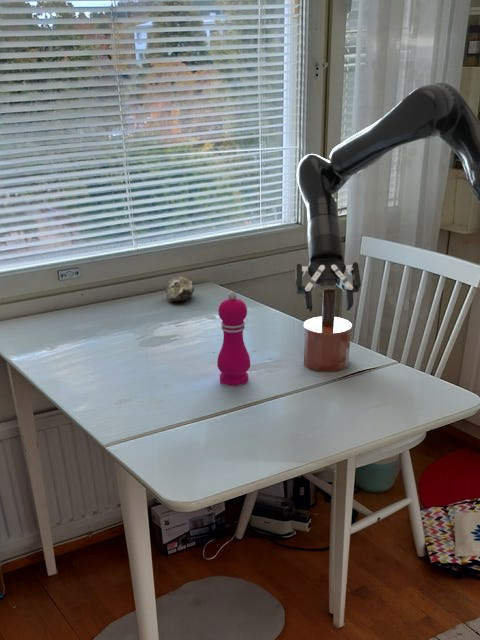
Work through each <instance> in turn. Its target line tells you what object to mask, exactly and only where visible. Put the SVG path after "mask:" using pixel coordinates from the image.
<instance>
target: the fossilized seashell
mask: <svg viewBox="0 0 480 640" xmlns="http://www.w3.org/2000/svg"><path fill="white" fill-rule="evenodd" d="M164 289H165V290H164V291H165V293H166V298H167V299H168V300H169V301H171V302H182V301H185V300H187V299H189V298H190V297H192V295H193V294H194V290H195V287H194V285H193V282H192V280H191V279H190V280H189V278H187V277H184V276H176V277H174V278H171V279H170V280H169V281H167V283H166V285H165V288H164Z"/></svg>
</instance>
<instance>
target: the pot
mask: <svg viewBox="0 0 480 640" xmlns="http://www.w3.org/2000/svg"><path fill="white" fill-rule="evenodd" d="M351 331H352V329H351V330H350V331H349V332H347V333H345V334H342V335H335V336H322V335H316V334H312V333H309V332H307V331H306V330H305V329H304V342H303V365H304V367H306V368H307V369H309V370H312V371H315V372H321V373H333V372H339V371H342V370H345V369H346V368H347V367H348V365H349V360H350V348H351V347H350V346H351V333H352V332H351Z"/></svg>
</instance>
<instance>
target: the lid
mask: <svg viewBox="0 0 480 640" xmlns="http://www.w3.org/2000/svg"><path fill="white" fill-rule="evenodd" d="M336 296H337V291H336V289H329V288H328V289H323V290H322V303H321V316H316V317H312V318H309V319H307V320H305V321H304V323H303V330H304V331H305V330H306V331H307V332H309V333H312V334H316V335H322V336H335V335H342V334H345V333H347V332H349V331H350V330H351V331H352V329H353V324H352V322H351V321H349V320H348V319H345V318H342V317H339V316H338V317H337V316H335V313H336Z"/></svg>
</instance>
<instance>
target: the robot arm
mask: <svg viewBox="0 0 480 640" xmlns="http://www.w3.org/2000/svg"><path fill="white" fill-rule="evenodd" d="M436 137H439V138H440V140H442V141H443V142H444V143H445V144H446V145H447V146H448V147H449V148H450V149H451V150H452V151H453V152H454V154H455V155H456V156H457V157H458V159H459V160H460V162H461V165H462V168H463V171H464V175H465V178H466V181H467V184H468V187H469V190H470V192H471V194H472V196H473V197H474V198H475V200H476V201H477V202H478V203H479V204H480V120H479V118H478V116H476V114H475V112H474V111H473V110H472V108H471V107H470V105H469V104H468V102H467V101H466V99H465V98H464V96H463V95H462V94H461V93H460V92H459V90H458V89H457V88H456V87H454V86H453V85H452V84H450V83H447V82H433V83H430V84H426V85H422V86H419V87H417V88H415V89H414V90H413V91H411V92H410V93H409V94H408V95H407V96H406V97H404V98H403V99H402V100H401V101H400V102H399V103H398V104H397V105H396V106H394V107H393V108H392V109H391V110H390V111H389V112H388V113H386V114H385V115H384V116H382V118H380V119H379V120H377V121H376V122H374V123H373V124H371V125H369V126H367V127H366V128H364V129H362V130H361V131H359V132H358V133H356V134H354V135H352V136H350V137H348V138H347V139H345V140H343V142H340V143H339V144H338V145H336V146H335V147H334V148H333V149H332V150H331V152H330V154H329V160H328V159H326V158H324V157H322V156H320V155H318V154H315V153H310V154H307V155H305V156H304V157H302V159H301V160H300V161H299V163H298V166H297V169H296V182H297V186H298V189H299V193H300V195H301V198H302V201H303V204H304V207H305V209H306V222H307V228H306V237H307V239H306V245H307V253H308V265H307V266H306V265H302V264H301V263H297V264H296V266H295V272H294V273H295V275H294V276H295V280H294V281H295V282H294V283H295V285H294V287H295V290H294V291H295V294H296V295H302V296H303V298H304V299H303V300H304V308H305V310H307V312H309V313H311V312H312V311H313V295H312V294H313V293H312V292H313V291H314V289H316V287H317V285H319V286H320V287H325V286H330V287H332V286H335V285H336V286H337V287H338V288H339V289H340V290H342V291H343V292H344V293H345V295H344V297H345V310H346V311H351V308H353V305H354V293H358V292H360V289H361V286H362V282H361V275H360V274H361V273H360V269H359V263H358V261H357V262H356V261H354V262H353V263H352V264H346V263H345V262H344V255H343V243H342V242H343V241H342V230H341V226H340V225H341V224H340V221H339V220H340V219H339V207H338V202H337V199H336V198H335V197H334V195H335V194H336V193H338V192H339V191H340V190H341V188H342V187H344V186H345V184H347V182H348V181H349V180H350V179H351V178H352V177H353V176H355V175H357V174H358V173H361V172H362V171H364V170H367V168H369V167H371V166H372V165H374V164H375V163H377V162H378V161H380V159H382V158H383V157H384V156H385V155H386V154H387V153H389V152H391V151H392V150H394V149H396V148H398V147H400V146H404V145H406V144H410V143H412V142H416V141H420V140H428V139H432V138H436ZM345 272H347V273H348V275H349V276H351V281H352V283H351V282H350V281H349V280H348V278H347V277H346V275H345ZM306 274H308V275H309V277H310V280H309V282H308V283H307V284H306V286H304V285H303V277H305V275H306Z"/></svg>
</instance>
